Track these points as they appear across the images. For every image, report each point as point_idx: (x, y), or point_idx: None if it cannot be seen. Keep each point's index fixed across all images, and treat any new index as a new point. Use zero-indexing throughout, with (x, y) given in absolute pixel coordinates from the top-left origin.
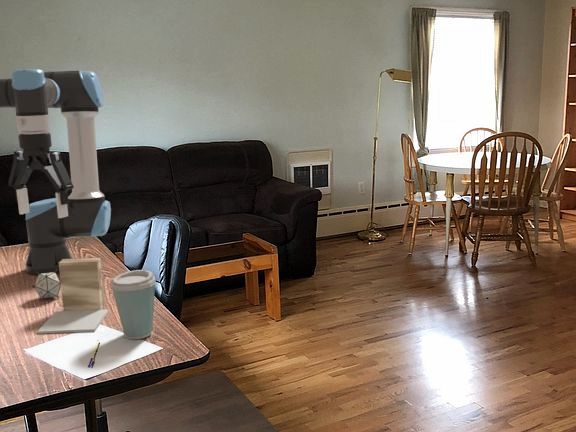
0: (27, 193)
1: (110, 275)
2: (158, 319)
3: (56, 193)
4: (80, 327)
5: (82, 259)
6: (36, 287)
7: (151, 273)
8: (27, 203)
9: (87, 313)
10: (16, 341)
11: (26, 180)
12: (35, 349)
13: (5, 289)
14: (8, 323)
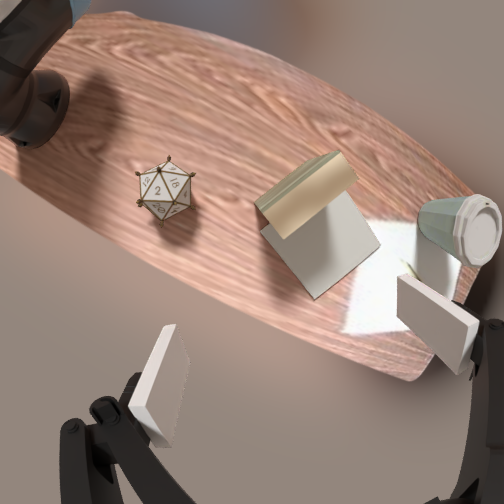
0: (153, 382)
1: (157, 49)
2: (416, 161)
3: (459, 370)
4: (358, 252)
5: (311, 184)
6: (167, 218)
7: (498, 210)
8: (170, 355)
9: None
10: (311, 327)
11: (156, 458)
12: (355, 324)
13: (69, 214)
14: (233, 301)
